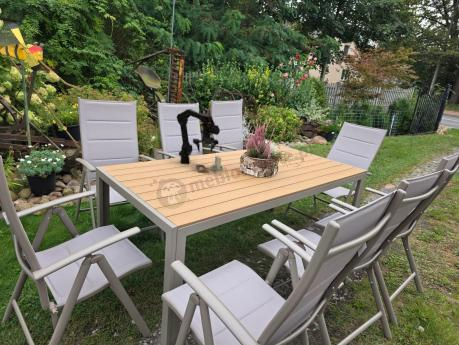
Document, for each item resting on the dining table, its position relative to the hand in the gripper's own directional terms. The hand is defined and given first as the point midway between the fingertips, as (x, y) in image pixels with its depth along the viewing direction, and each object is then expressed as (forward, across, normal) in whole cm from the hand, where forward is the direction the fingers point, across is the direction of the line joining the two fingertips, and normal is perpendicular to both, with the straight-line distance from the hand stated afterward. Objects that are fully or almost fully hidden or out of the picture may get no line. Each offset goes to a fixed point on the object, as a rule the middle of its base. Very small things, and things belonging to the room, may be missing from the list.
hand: (204, 152), depth 225 cm
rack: (+13, -2, -1) cm, 13 cm away
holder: (+13, +11, -1) cm, 17 cm away
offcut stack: (+13, -2, -9) cm, 16 cm away
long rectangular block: (+12, +11, -1) cm, 16 cm away
